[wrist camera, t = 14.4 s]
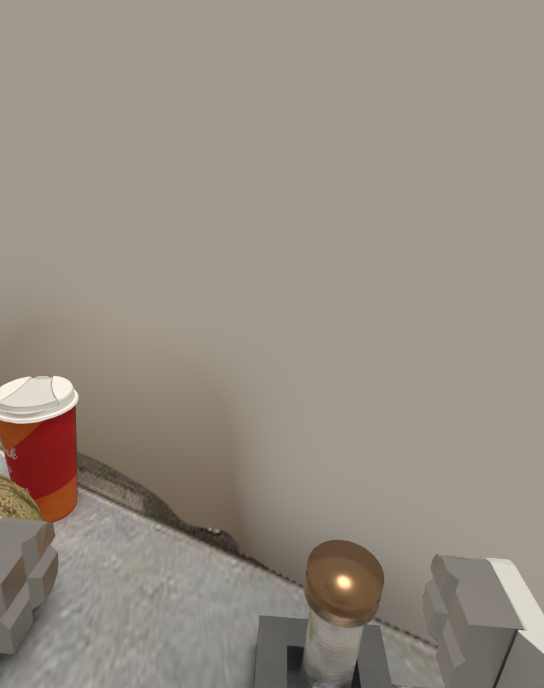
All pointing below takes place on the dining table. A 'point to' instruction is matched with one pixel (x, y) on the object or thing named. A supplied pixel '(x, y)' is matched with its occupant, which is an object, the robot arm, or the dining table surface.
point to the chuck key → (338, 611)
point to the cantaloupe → (17, 502)
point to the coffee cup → (41, 441)
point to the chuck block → (288, 647)
